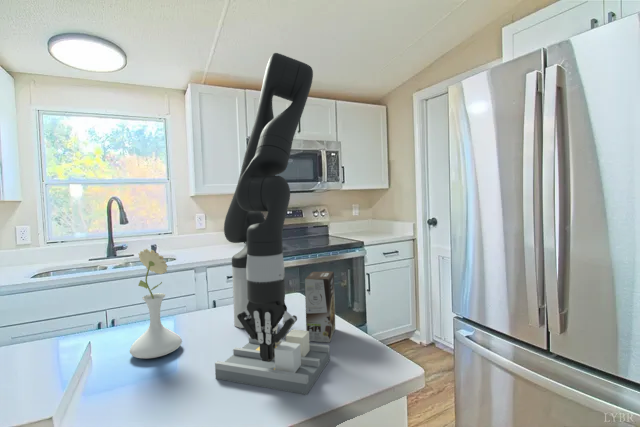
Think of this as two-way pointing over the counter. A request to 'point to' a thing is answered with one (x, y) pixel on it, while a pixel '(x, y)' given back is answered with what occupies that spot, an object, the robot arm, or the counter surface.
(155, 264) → the flower in vase
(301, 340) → the cream cube
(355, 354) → the counter surface
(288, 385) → the grey ridged tray
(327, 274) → the coffee box
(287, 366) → the pale grey cube
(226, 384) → the counter surface
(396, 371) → the counter surface
